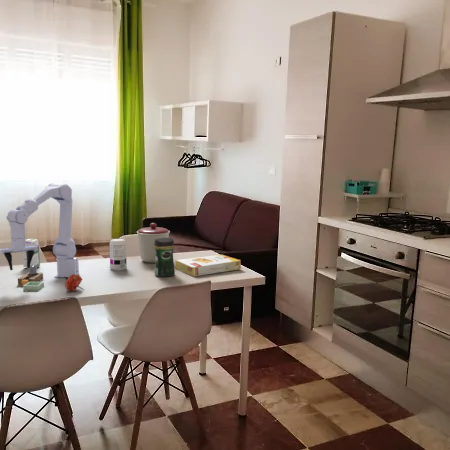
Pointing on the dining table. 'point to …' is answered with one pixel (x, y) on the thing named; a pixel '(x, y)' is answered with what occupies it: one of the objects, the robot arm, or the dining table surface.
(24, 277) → the socket block
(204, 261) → the cereal box
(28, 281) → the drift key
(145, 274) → the dining table surface
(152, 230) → the canister
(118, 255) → the supplement can
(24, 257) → the syrup box
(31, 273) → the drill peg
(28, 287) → the tray
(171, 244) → the coffee jar
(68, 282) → the pomegranate
